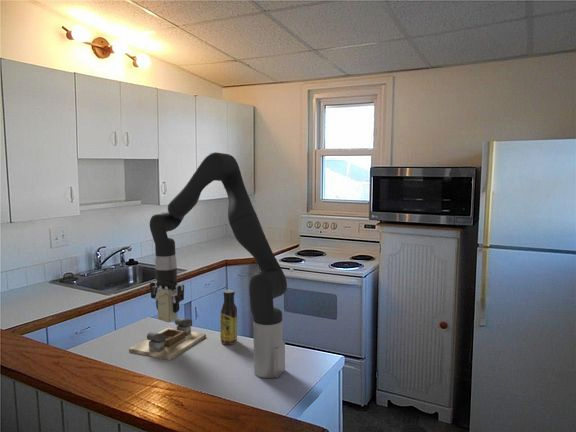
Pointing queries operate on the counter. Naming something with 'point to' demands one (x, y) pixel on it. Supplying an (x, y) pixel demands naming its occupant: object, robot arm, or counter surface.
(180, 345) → the board
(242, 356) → the counter surface
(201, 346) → the counter surface
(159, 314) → the skincare box
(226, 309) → the sauce bottle
